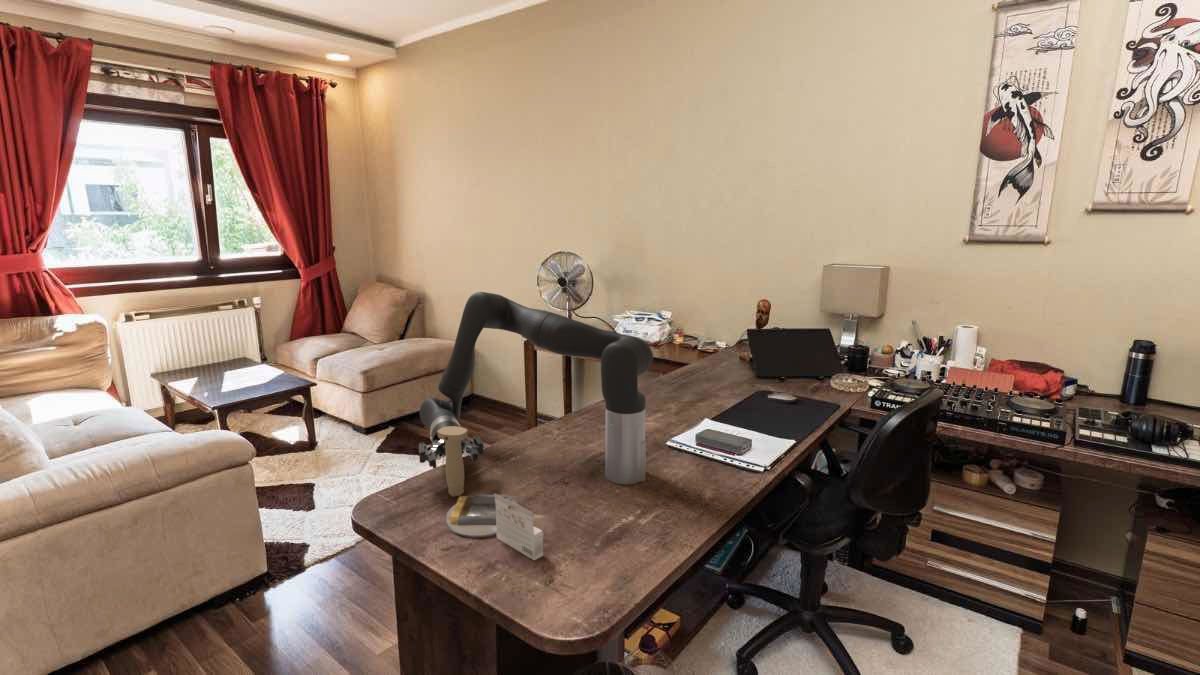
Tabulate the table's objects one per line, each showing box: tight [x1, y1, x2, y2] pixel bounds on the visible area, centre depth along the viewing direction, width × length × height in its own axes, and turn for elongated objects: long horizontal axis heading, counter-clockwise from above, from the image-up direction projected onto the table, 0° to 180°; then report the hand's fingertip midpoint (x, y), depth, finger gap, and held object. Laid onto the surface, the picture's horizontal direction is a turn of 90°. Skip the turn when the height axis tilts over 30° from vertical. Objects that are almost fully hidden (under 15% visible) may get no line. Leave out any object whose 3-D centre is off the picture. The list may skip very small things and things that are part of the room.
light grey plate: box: [445, 494, 520, 538], centre depth 119 cm, size 15×15×2 cm
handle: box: [437, 426, 468, 498], centre depth 127 cm, size 5×6×15 cm
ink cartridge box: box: [493, 492, 544, 561], centre depth 107 cm, size 2×11×10 cm, turn 48°
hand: (454, 461), depth 126 cm, fingers open, 8 cm apart
